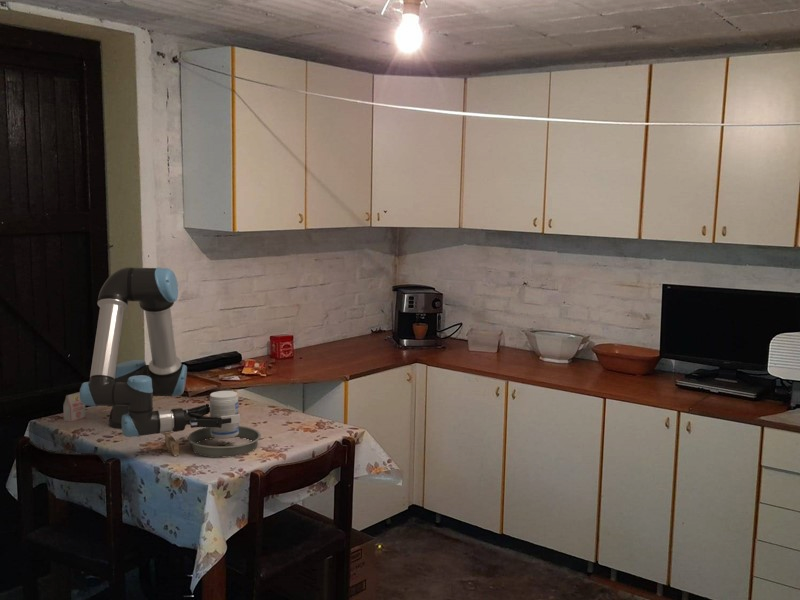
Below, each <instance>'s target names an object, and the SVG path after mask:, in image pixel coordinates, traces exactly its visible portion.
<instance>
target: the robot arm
mask: <svg viewBox="0 0 800 600" xmlns="http://www.w3.org/2000/svg"><path fill="white" fill-rule="evenodd" d="M178 285H179V284H178V280H177V276H176V274H175V272H174V271H173V270H172V269H170V268H164V267H163V268H162V267H131V266H127V267H123V268H120V269H118V270H116V271H115V272H113V273H112V274H111V275H109V276H108V278H107V279H106V280H105V282H103V285H102V286H101V288H100V290H99V292H98V293H99V294H98V298H97V302H96V303H97V306H98V307H99V312H98V318H97V319H98V320H97V324H96V325H97V326H96V327H97V328H96V332H95V333H96V334H95V340H94V341H95V342H94V347H93V354H92V362H91V369H90V375H89V381H85V382H83V383H81V386H80V388H79V392H80V401H81V403H82V404H83V405H85V406H92V407H93V406H94V407H104V406H105V407H106V406H107V407H108V406H109V407H111V406H112V407H111V410H110V413H109V417H108V425H109V427H111V428H116V429H121V431H122V435H123V436H124V437H127V438H130V437H140V436H150V435H156V434H157V435H158V434H161V435H165V433H171V432H172V431H173V433H174V432H175V433H176V432H182V431H184V430H185V429H186V426H187V425H189V426H190V428H191V429H193V428H206V427H219V428H222V425H225V424H233V423H239V424H240V423H241V414H240V413H239V414H238V415H229V416H221V418H218V417H210V416H206V415H208V414H209V415H210V403H206V404H202V405H198V406H195V407H191V408H187V409H184V408H181V407H178V408H171V410H170V409H167V408H166V409H160V410H154V409H153V404H154V403H153V402H154V401H153V398H154V397H178V396H182V395H183V394H184V391H185V388H186V382H187V375H188V367H187V365H185V364H182V361H181V359H180V358H179V357H178V356H177V351H176V344H175V343H176V341H175V336H174V326H173V318H172V311H171V308H172V307H173V306H174V305H175V302H176V301H177V300H178V297H179V288H178V287H179V286H178ZM129 302H138V303H139V307H140V309H141V310H142V311H144V312H145V313H144V314H145V320H146V325H147V333H148V334H147V335H148V340H149V347H150V348H149V349H150V353H151V361H150V362H149V363H148V364H147V363H146V361H145V360H144V359H134V360H133V359H132V360H128V361H123V362H119V363H117V362H118V357H119V356H118V355H119V347H120V341H121V340H120V339H121V335H122V334H121V333H122V326H123V318H124V311H125V310H126V309H128V305H129ZM217 422H218V423H217Z"/></svg>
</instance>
